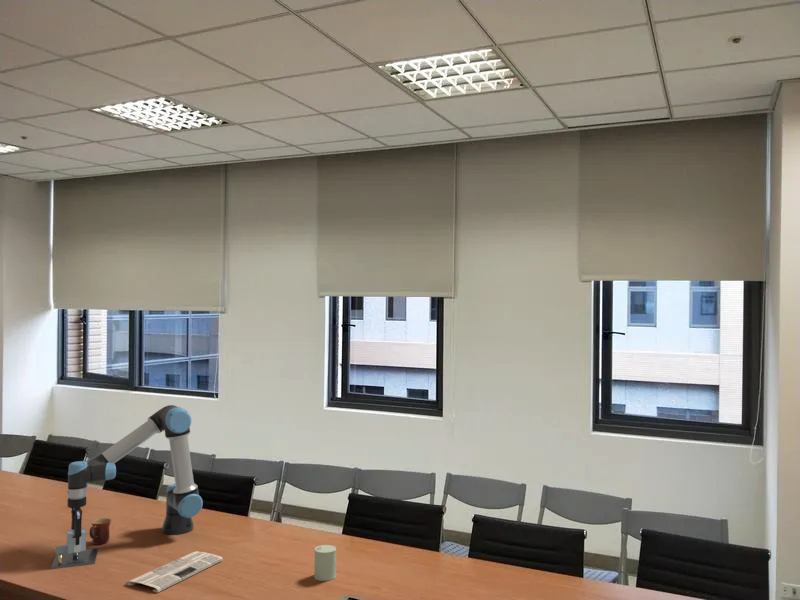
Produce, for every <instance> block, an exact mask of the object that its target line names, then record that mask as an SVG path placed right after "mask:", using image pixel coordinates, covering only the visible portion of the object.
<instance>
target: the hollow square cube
mask: <svg viewBox="0 0 800 600" xmlns="http://www.w3.org/2000/svg"><path fill="white" fill-rule="evenodd" d="M81 534H82V536H81V551H86V550H87V531H86V529H85V528H84V527H81ZM73 537H74V530H72V529H70V530H66V544H64V545H58V546H55V555H56V554H59V553H64V552H68V554H69V553H74V552H73V549H74V538H73Z"/></svg>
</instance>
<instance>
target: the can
mask: <svg viewBox="0 0 800 600" xmlns="http://www.w3.org/2000/svg"><path fill="white" fill-rule="evenodd" d="M313 573H314V575H313V579H315V580H316V581H321V582H328V581H332V580H335V579H336V577H337V547H336V546H335V545H332V544H321V545H318V546H316V547H315V548H314V572H313Z"/></svg>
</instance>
